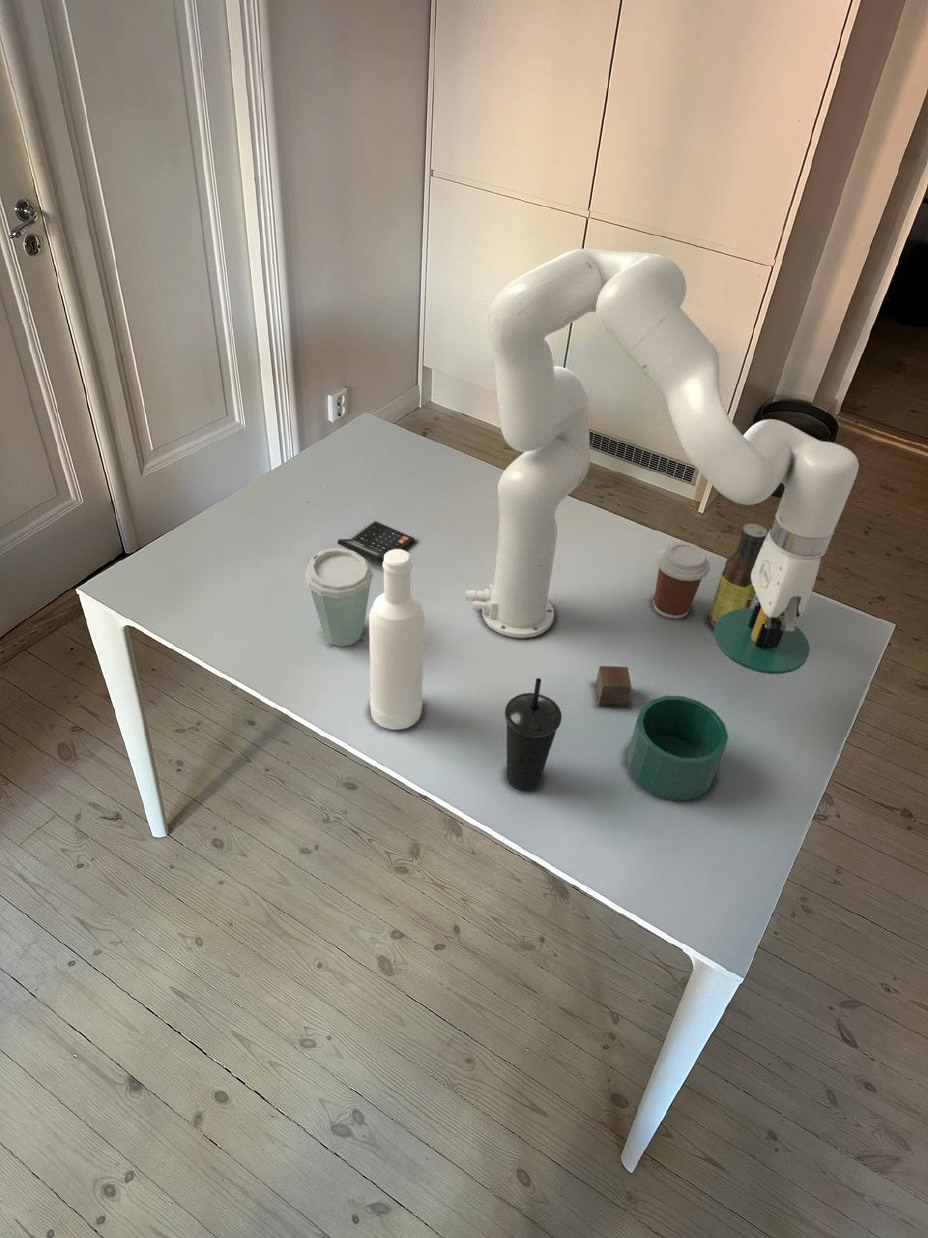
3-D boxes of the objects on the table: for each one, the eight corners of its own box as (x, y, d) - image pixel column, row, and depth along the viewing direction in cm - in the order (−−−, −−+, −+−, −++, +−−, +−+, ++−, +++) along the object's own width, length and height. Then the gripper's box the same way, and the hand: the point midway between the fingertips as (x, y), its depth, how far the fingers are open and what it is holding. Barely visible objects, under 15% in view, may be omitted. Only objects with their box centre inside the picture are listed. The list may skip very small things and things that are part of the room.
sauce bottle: (743, 638, 152) (777, 546, 139) (707, 632, 153) (737, 539, 140) (742, 614, 157) (774, 523, 144) (707, 608, 158) (736, 517, 145)
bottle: (402, 739, 131) (404, 582, 111) (359, 716, 134) (354, 560, 114) (431, 706, 136) (439, 552, 116) (390, 685, 139) (390, 531, 119)
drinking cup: (494, 757, 129) (506, 659, 116) (545, 756, 130) (562, 659, 117) (499, 799, 123) (513, 702, 110) (553, 798, 124) (572, 700, 111)
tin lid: (724, 675, 123) (736, 640, 119) (704, 612, 133) (714, 578, 129) (819, 678, 124) (835, 644, 119) (791, 616, 134) (805, 581, 130)
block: (598, 706, 138) (603, 686, 135) (595, 685, 142) (599, 665, 139) (626, 707, 138) (631, 687, 135) (622, 686, 142) (627, 666, 139)
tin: (634, 799, 125) (645, 761, 119) (621, 732, 134) (631, 694, 129) (721, 802, 125) (736, 764, 120) (702, 735, 135) (716, 697, 129)
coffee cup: (699, 598, 160) (715, 545, 152) (692, 628, 154) (709, 574, 146) (650, 585, 162) (663, 532, 154) (641, 615, 156) (655, 561, 148)
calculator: (414, 541, 168) (414, 529, 166) (377, 571, 161) (377, 558, 159) (375, 524, 172) (375, 512, 170) (337, 553, 164) (337, 540, 162)
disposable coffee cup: (385, 626, 150) (384, 556, 140) (353, 665, 142) (350, 594, 132) (331, 607, 153) (327, 537, 143) (297, 644, 145) (290, 572, 135)
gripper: (756, 498, 122) (724, 599, 134) (790, 570, 109) (751, 675, 121) (809, 500, 122) (772, 601, 134) (849, 573, 109) (804, 677, 121)
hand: (762, 635), depth 127 cm, fingers closed on tin lid, 3 cm apart
